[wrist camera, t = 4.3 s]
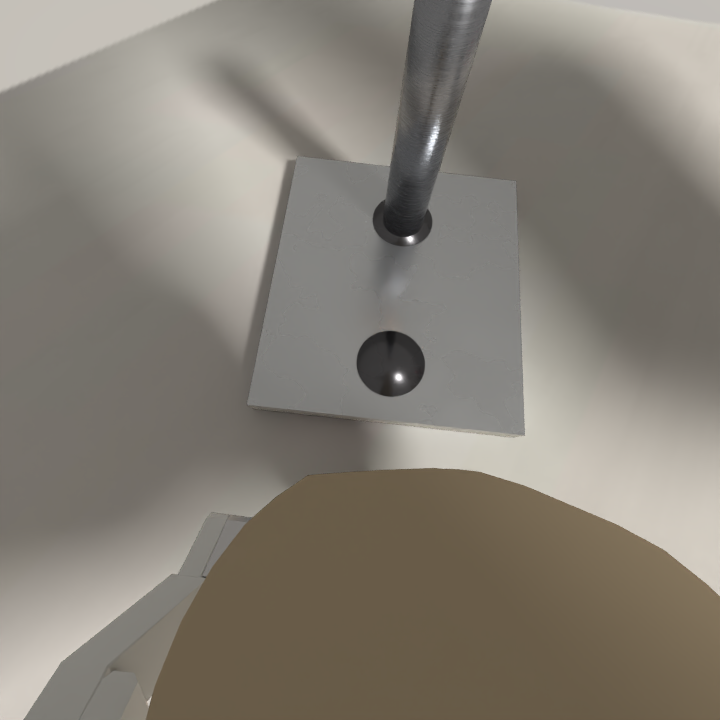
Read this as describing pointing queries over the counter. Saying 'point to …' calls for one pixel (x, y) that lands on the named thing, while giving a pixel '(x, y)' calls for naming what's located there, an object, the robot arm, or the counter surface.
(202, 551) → the robot arm
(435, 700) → the handle
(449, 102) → the lever with round knob
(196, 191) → the counter surface
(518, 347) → the plate
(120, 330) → the counter surface
